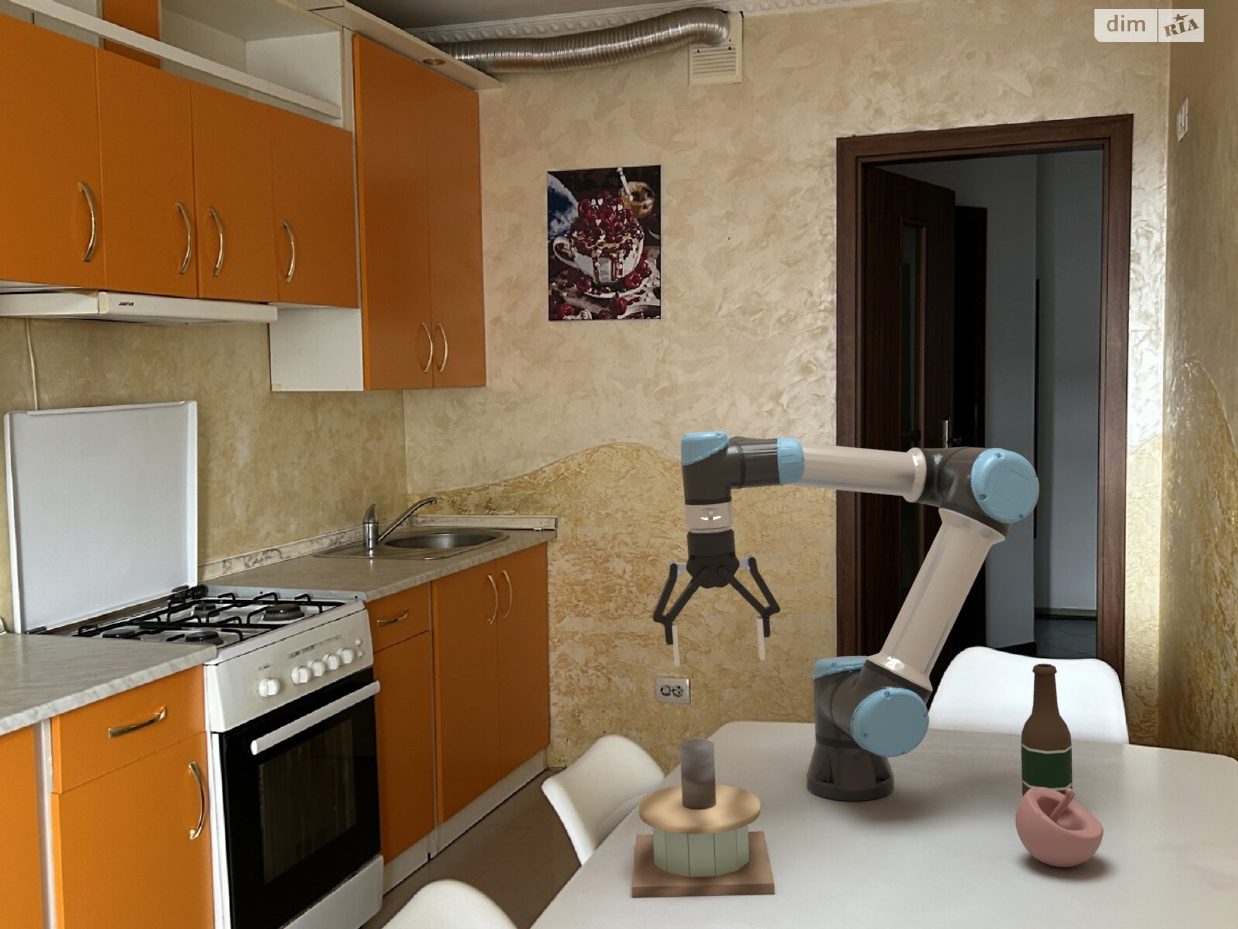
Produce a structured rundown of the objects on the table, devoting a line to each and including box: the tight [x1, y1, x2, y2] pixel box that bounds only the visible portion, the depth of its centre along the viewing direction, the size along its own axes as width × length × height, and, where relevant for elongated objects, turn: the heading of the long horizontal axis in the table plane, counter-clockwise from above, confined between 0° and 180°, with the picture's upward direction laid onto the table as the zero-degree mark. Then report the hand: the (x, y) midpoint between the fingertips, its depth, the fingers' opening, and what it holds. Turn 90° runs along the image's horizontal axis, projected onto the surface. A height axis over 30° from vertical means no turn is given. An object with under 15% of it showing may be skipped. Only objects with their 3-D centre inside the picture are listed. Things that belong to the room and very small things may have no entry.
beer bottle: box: [1020, 663, 1074, 798], centre depth 196 cm, size 8×8×24 cm
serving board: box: [631, 830, 776, 898], centre depth 180 cm, size 20×20×2 cm
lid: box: [638, 738, 761, 834], centre depth 179 cm, size 18×18×10 cm
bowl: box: [652, 824, 749, 877], centre depth 179 cm, size 14×14×7 cm
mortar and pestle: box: [1015, 787, 1105, 868], centre depth 175 cm, size 12×12×12 cm
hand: (719, 661), depth 192 cm, fingers open, 13 cm apart
